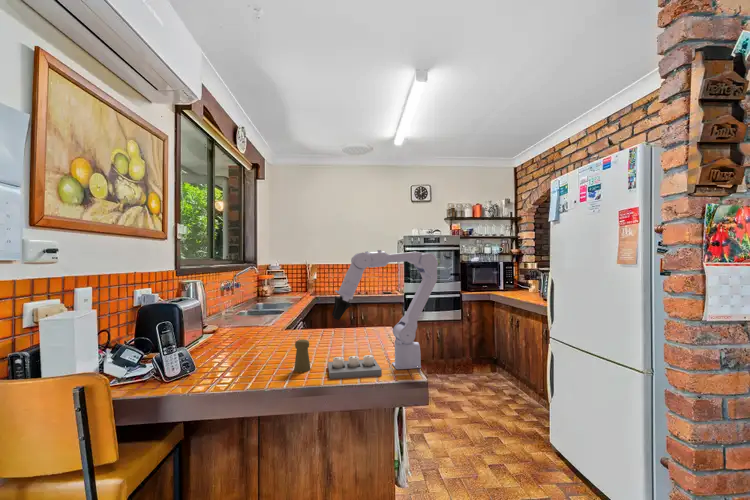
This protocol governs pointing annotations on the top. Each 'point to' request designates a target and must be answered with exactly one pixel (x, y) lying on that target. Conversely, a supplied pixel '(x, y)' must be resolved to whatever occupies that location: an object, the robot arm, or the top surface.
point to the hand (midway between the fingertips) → (335, 317)
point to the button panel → (354, 370)
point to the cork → (302, 356)
